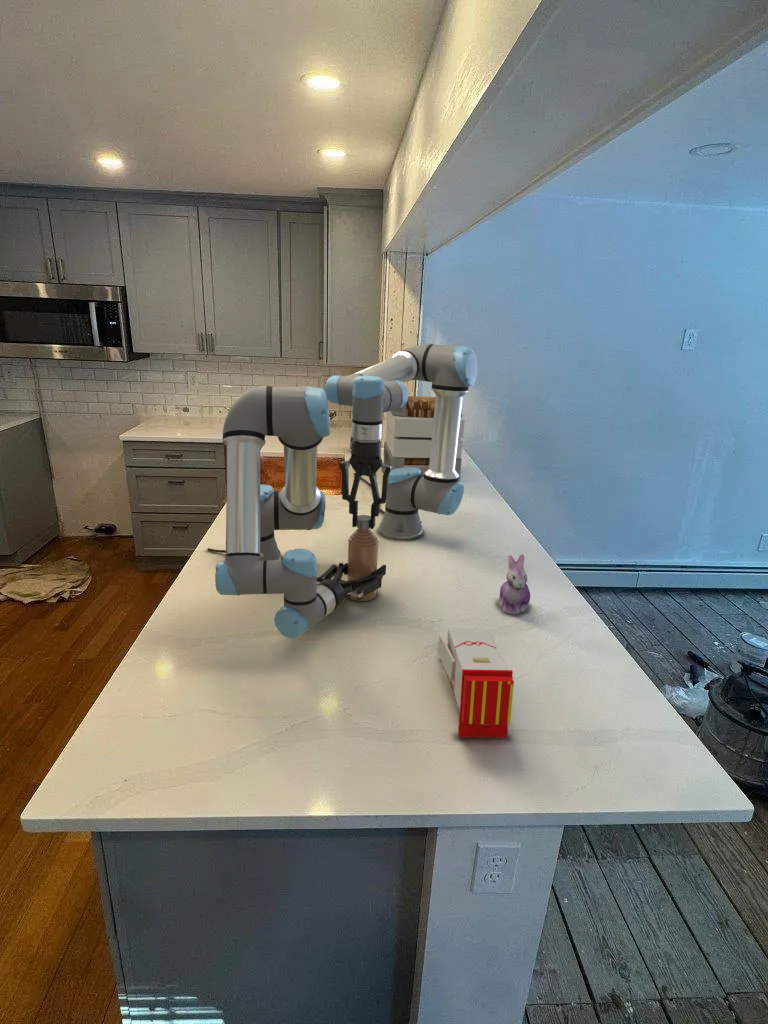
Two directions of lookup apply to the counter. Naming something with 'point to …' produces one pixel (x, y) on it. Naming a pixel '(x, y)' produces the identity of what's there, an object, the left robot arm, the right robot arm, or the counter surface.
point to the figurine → (515, 588)
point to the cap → (363, 521)
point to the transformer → (414, 434)
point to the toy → (478, 682)
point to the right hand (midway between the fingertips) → (363, 526)
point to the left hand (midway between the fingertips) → (371, 565)
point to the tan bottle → (362, 557)
